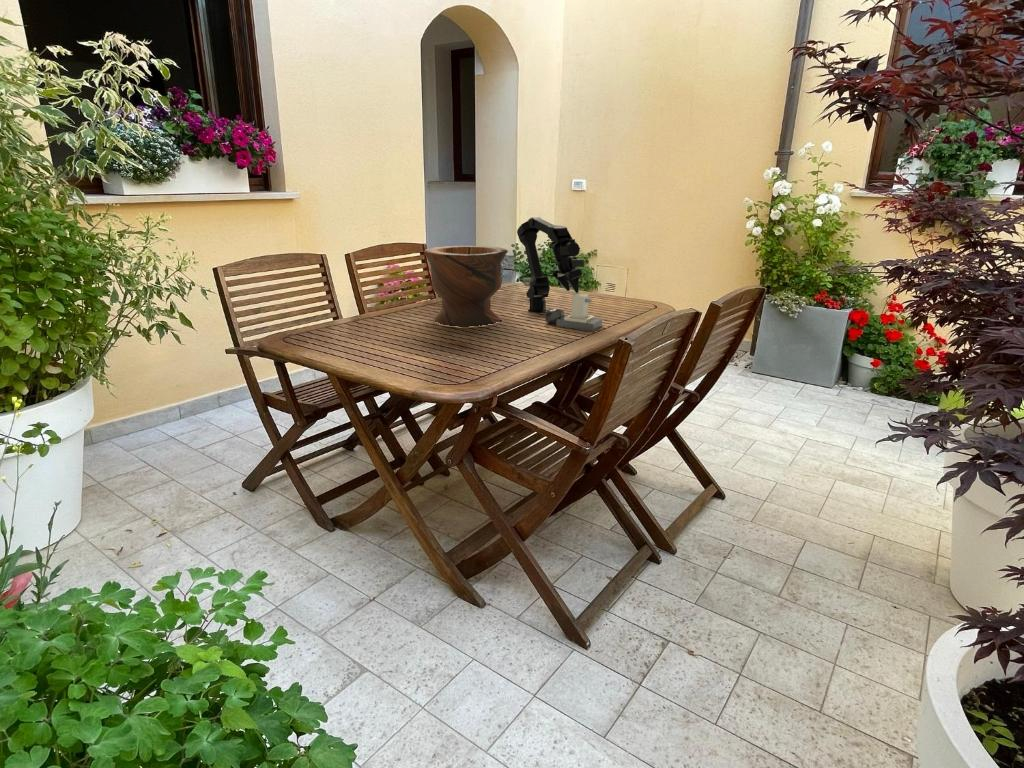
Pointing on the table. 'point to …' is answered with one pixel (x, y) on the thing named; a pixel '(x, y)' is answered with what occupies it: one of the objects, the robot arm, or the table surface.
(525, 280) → the mechanical component
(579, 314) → the cream block
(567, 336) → the table surface
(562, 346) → the table surface
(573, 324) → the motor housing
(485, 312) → the wooden planter
